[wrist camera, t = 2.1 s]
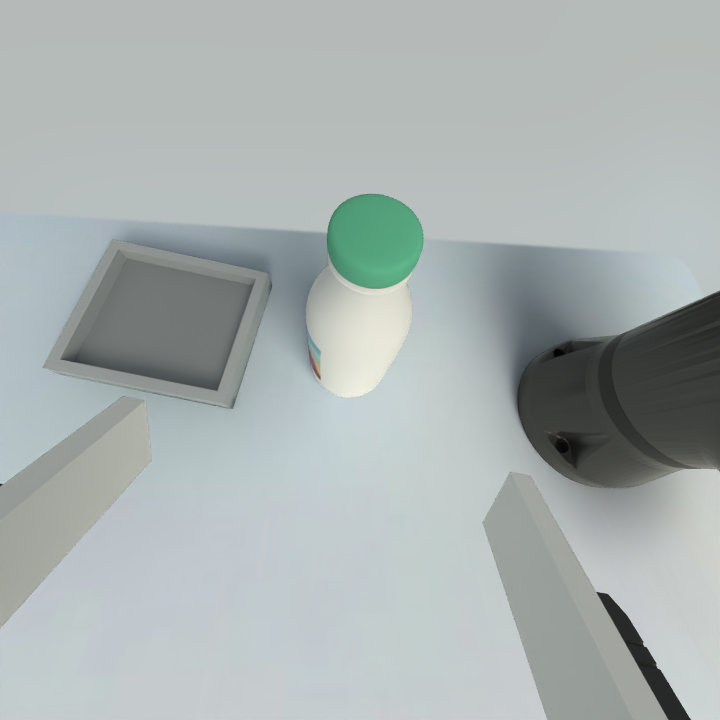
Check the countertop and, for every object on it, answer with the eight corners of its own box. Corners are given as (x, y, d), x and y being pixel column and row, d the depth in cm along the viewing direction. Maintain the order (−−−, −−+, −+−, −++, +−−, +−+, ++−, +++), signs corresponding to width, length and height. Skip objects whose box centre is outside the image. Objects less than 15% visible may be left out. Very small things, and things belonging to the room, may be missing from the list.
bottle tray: (272, 285, 36) (268, 272, 33) (232, 409, 31) (224, 404, 29) (126, 254, 35) (112, 239, 33) (64, 375, 30) (42, 367, 28)
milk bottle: (396, 349, 35) (481, 208, 16) (364, 412, 32) (419, 333, 13) (333, 317, 35) (343, 142, 16) (296, 376, 33) (258, 251, 14)
